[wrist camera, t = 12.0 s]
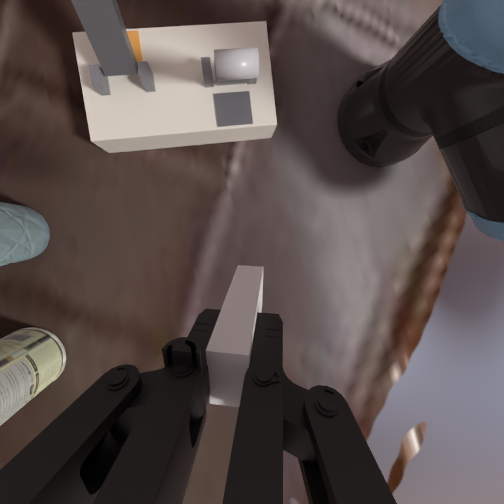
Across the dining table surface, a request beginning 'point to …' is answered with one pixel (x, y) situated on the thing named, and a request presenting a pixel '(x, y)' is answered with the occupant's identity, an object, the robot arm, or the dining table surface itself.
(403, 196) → the dining table surface
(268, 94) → the console
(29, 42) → the dining table surface
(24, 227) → the drinking glass
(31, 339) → the coffee can
